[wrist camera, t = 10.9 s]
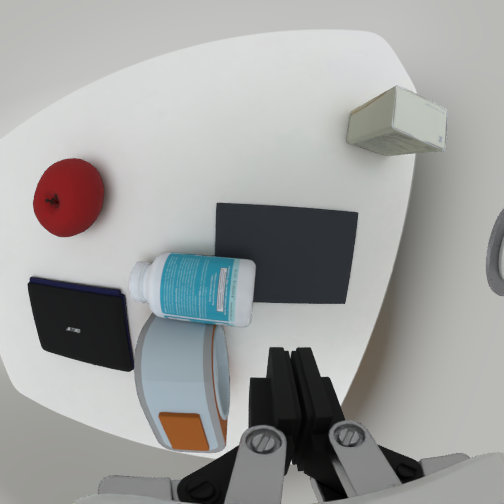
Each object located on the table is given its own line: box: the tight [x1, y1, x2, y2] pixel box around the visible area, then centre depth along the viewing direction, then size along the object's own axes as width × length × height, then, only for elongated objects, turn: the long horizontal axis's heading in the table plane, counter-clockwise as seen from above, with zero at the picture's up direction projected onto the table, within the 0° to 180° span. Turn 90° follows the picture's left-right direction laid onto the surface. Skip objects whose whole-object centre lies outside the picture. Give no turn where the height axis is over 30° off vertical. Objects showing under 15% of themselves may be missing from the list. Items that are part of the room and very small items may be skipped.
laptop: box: [28, 277, 134, 372], centre depth 35 cm, size 16×20×2 cm
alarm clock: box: [134, 313, 230, 453], centre depth 30 cm, size 15×8×14 cm, turn 4°
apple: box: [33, 158, 104, 237], centre depth 26 cm, size 9×9×10 cm
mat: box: [215, 203, 358, 304], centre depth 34 cm, size 17×12×1 cm
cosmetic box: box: [346, 86, 448, 156], centre depth 24 cm, size 6×4×12 cm
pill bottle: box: [129, 252, 256, 327], centre depth 30 cm, size 8×7×14 cm
